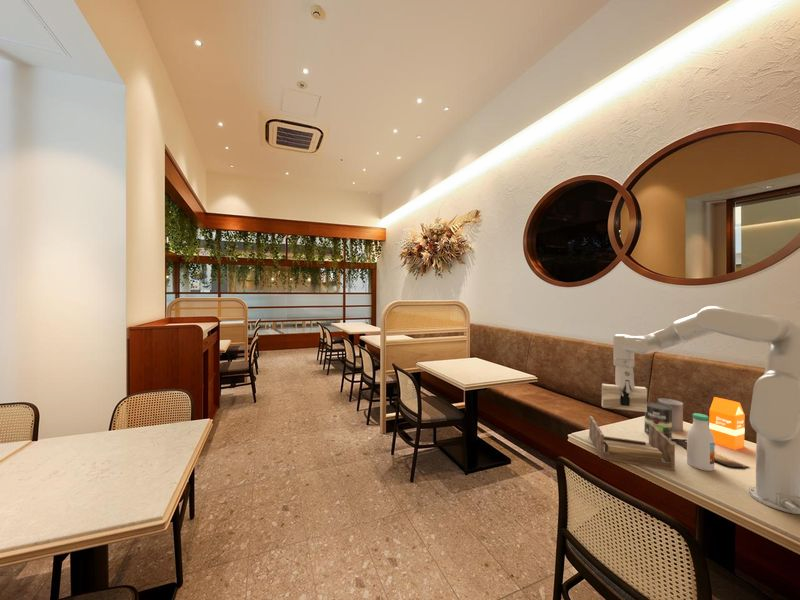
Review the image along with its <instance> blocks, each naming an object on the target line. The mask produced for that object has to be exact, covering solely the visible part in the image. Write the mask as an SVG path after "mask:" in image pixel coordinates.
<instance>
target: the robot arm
mask: <svg viewBox="0 0 800 600" xmlns="http://www.w3.org/2000/svg"><path fill="white" fill-rule="evenodd" d="M715 333H717V334H721V335H725V336H730V337H734V338H737V339H741V340H746V341H749V342H754V343H755V342H756V343H767V344H768V350H767V354H766V363H765V370H764V374H763V375H761V376H760V377H758V379H756V381H755V383H754V386H753V390H752V398H751V406H750V411H749V423H750V426H751V427H752V429H753V430H754V431H755V432H756V441H755V442H756V447H755V448H756V449H755V451H756V452H755V455H756V456H755V486H752V487H749V489H748V494H749V495H750V496H751V498H753V499H754V500H756V501H757V502H759V503H761V504H763V505H765V506H767V507H770V508H772V509H775V510H777V511H782V512H785V513H789V514H794V515H800V326H798V325H797V324H796V323H794V322H793V321H790V320H788V319H787V318H783V317H780V316H777V315H772V314H761V315H759V314H754V313H749V312H744V311H743V312H742V311H738V310H733V309H731V308H730V307H728V306H724V305H709V306H704V307H703V308H701V309H700V310H699V311H698V312H695V313H694V314H693V313H692V314H691V315H688V316H685V317H683V318H682V317H681V318H680V319H677V320H675V321H673V322H672V323H671V324H670V325H669V326H667V327H664V328H663V329H660V330H657V331H655V332H652V333H649V334H643V335H636V336H635V335H632V334H626V333H617V334H616V333H615V334H614V335H613V341H612V342H613V347H612V348H613V349H612V352H613V354H612V355H613V356H612V357H613V366H615V368H614V369H615V372H614V373H615V374H614V378H615V379H614V381H615V385H618V386H619V388H621V396H620V404H621V405H623V406H630V389H631V390H634V386H635V375H634V368H635V354H640V355H647V354H651V353H655V352H658V351H661V350H665V349H668V348H671V347H674V346H677V345H680V344H685V343H689V342H691V341H694V340H696V339H699V338H702V337H705V336H708V335H709V336H710V335H713V334H715ZM630 387H631V388H630ZM624 388H625V389H624ZM623 391H624V392H623Z"/></svg>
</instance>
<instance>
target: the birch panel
mask: <svg viewBox="0 0 800 600" xmlns="http://www.w3.org/2000/svg"><path fill="white" fill-rule="evenodd" d="M630 388H631V387H630ZM624 389H625V388H624ZM623 392H624V391H623ZM620 396H621V388H619V386H618V385H616V384H614V383H613V384H610V383H601V407H602V408H603V409H614V410H622V411H631V412H642V413H645V412H647V402H648V388H646V387H645V386H636V385H634V390H631V389H630V406H623V405H621V404H620Z"/></svg>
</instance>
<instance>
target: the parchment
mask: <svg viewBox="0 0 800 600" xmlns="http://www.w3.org/2000/svg"><path fill="white" fill-rule="evenodd" d="M670 441H671V442H674V444H676V445H679V446H680V447H683V449H685V450H687V438H686V439H681V438H671V439H670ZM715 461H716V462H718V463H720V464H723V465H725V466H727V467H728V468H732V467H735V468H736V467H738V468H739V467H740V468H742V469H744V470H746V468H749V466H748V465H746V464H744V463H741V462H739V461H736V460H735V459H733V458H731V457H727V456H725V455H723V454H721V453H718V452H716V451H715V455H714V462H715Z"/></svg>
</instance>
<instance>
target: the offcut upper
mask: <svg viewBox="0 0 800 600" xmlns="http://www.w3.org/2000/svg"><path fill="white" fill-rule="evenodd" d="M605 447H606V448H607V450H608V451H611V452H618V453H626V454H633V455H640V456H648V457H655V458H662V453H661V452H660V451H659V450H658V449H657V448H652V447H645V446H637V445H629V444H621V443H613V442H606V441H605Z"/></svg>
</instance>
